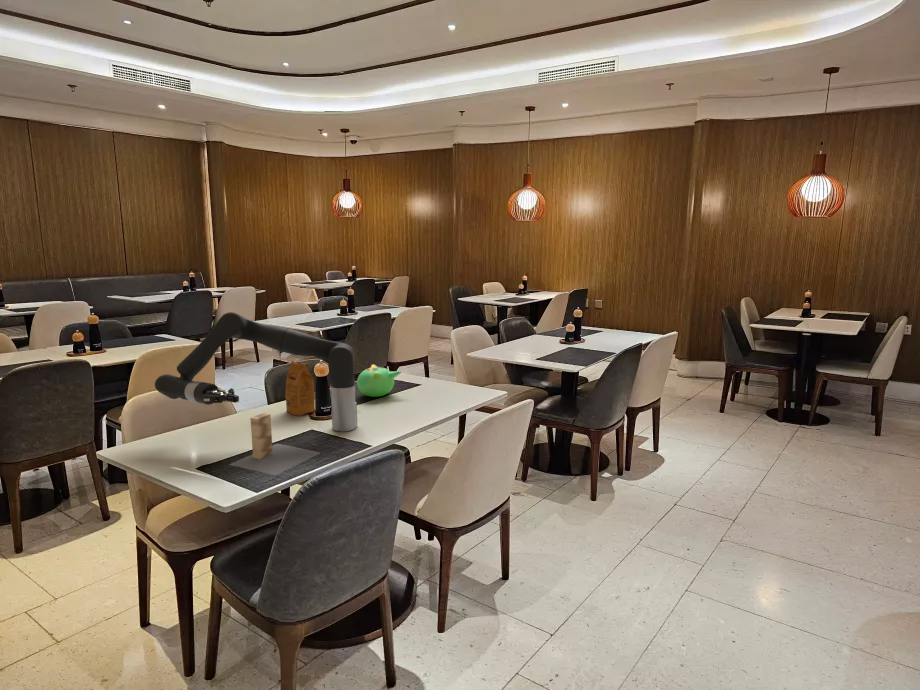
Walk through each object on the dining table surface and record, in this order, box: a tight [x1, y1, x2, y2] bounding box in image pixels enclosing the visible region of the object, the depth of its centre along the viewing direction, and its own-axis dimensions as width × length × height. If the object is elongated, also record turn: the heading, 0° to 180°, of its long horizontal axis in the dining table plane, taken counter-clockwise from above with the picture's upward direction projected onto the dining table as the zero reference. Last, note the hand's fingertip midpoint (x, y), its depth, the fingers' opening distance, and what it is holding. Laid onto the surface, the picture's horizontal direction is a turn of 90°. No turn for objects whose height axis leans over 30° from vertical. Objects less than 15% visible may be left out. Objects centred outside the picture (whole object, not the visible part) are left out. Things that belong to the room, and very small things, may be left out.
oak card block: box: [249, 412, 273, 459], centre depth 194 cm, size 6×3×14 cm, turn 154°
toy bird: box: [356, 364, 402, 398], centre depth 271 cm, size 18×17×15 cm
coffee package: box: [285, 359, 316, 417], centre depth 245 cm, size 10×12×22 cm
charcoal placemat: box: [228, 443, 322, 476], centre depth 193 cm, size 22×20×1 cm
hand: (237, 399), depth 197 cm, fingers closed
